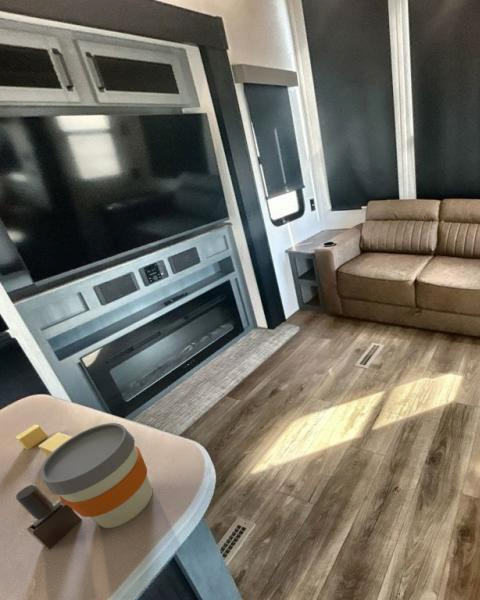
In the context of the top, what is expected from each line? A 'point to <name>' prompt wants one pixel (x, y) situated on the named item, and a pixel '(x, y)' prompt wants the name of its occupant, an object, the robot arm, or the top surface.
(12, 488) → the top surface
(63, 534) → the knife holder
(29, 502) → the knife
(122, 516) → the reusable coffee cup
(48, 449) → the butter stick
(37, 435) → the butter slice
